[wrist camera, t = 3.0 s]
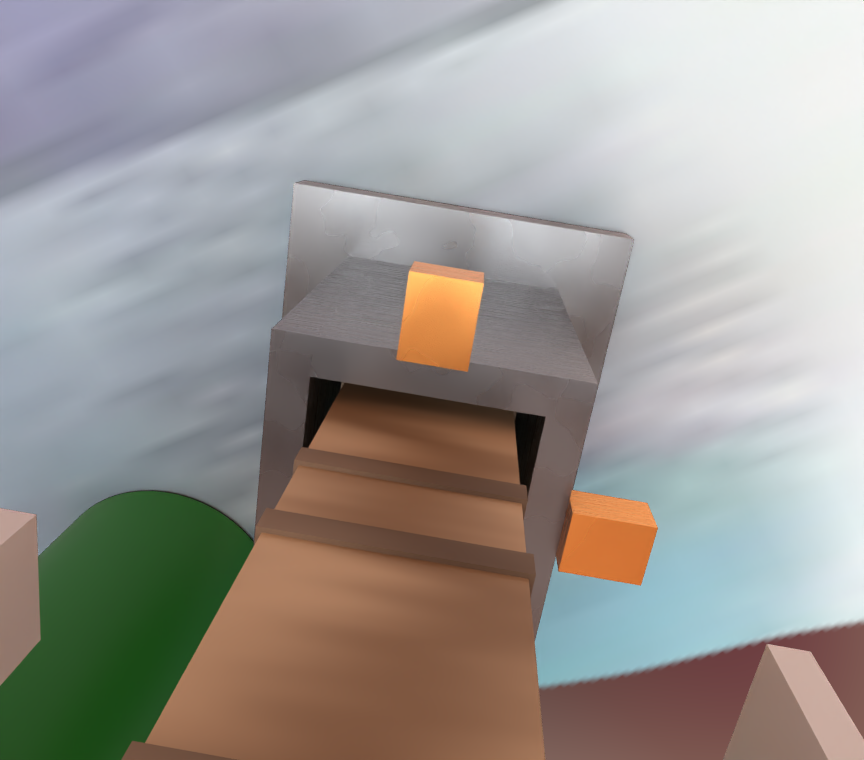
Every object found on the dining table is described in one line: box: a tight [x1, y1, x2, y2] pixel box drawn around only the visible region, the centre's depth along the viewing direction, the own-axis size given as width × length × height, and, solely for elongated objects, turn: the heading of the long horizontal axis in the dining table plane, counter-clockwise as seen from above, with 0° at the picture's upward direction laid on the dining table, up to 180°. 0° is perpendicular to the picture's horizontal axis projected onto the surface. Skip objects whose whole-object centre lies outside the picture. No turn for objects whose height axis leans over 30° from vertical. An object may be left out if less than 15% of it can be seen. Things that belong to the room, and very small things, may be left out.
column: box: [121, 382, 545, 760], centre depth 16 cm, size 5×5×23 cm
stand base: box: [253, 180, 658, 642], centre depth 23 cm, size 12×12×12 cm
